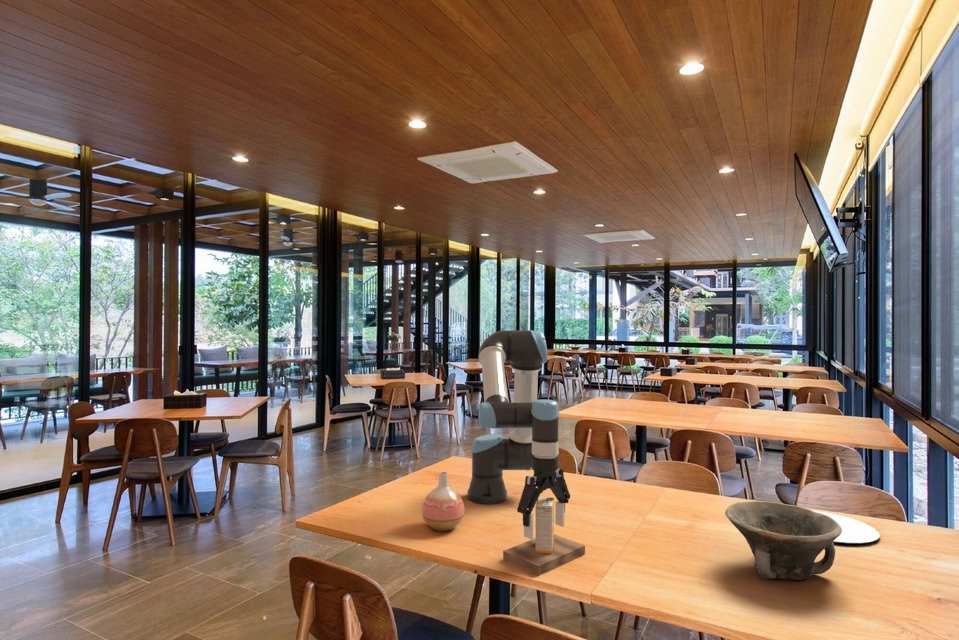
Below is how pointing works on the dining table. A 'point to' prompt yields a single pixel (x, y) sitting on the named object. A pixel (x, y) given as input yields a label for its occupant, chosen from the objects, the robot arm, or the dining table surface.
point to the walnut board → (543, 555)
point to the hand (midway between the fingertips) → (544, 531)
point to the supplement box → (544, 525)
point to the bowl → (786, 538)
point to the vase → (443, 506)
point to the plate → (853, 530)
